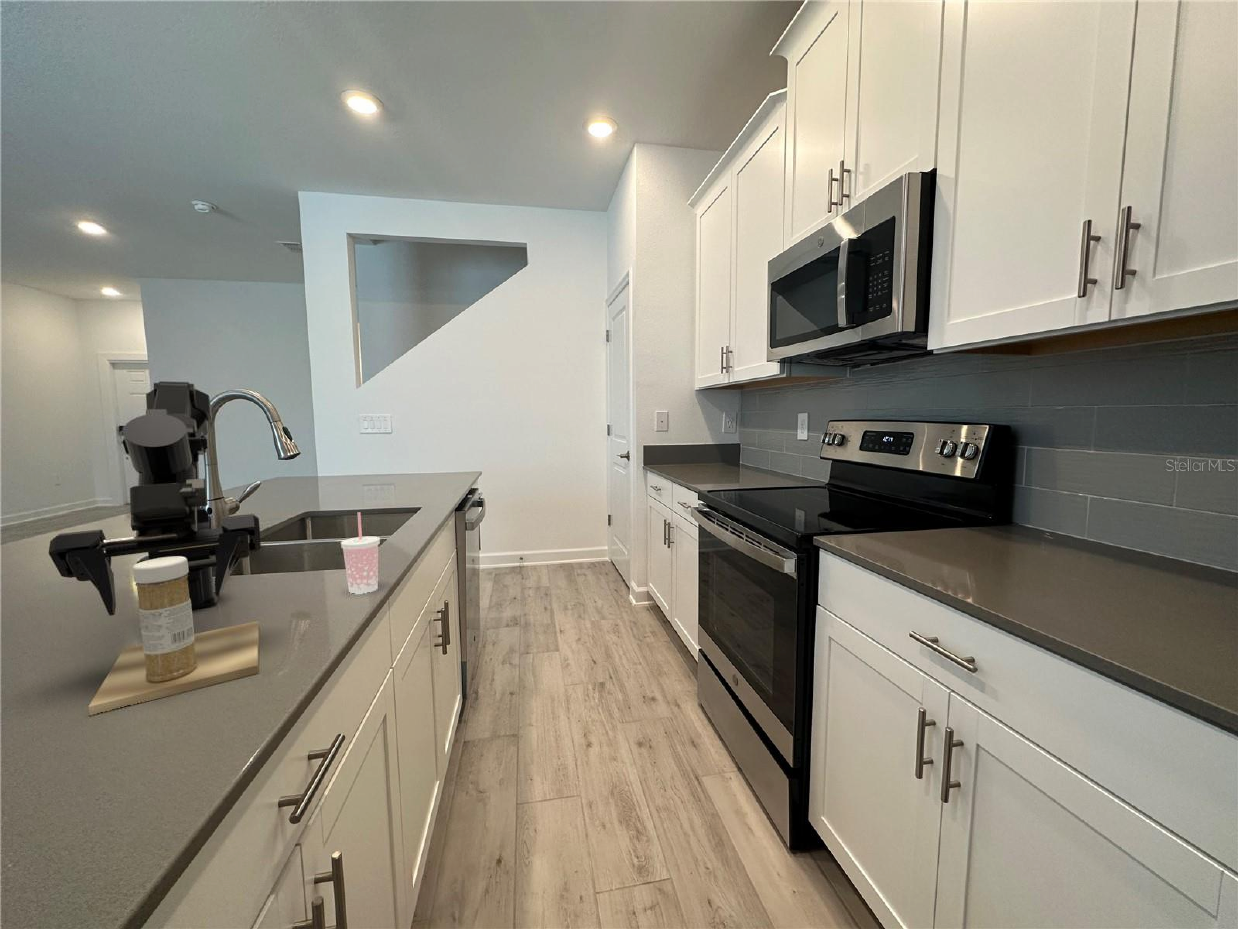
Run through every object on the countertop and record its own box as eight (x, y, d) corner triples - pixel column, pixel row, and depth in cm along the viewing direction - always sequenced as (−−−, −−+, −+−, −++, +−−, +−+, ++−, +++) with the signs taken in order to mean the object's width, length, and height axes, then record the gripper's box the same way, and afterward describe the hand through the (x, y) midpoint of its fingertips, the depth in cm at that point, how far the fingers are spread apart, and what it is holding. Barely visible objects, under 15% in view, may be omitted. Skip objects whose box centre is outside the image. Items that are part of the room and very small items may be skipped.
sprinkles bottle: (186, 660, 60) (175, 553, 58) (206, 668, 58) (195, 557, 56) (136, 678, 56) (124, 563, 54) (156, 687, 54) (143, 568, 52)
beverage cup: (386, 590, 86) (381, 512, 85) (346, 598, 83) (341, 517, 81) (378, 581, 91) (374, 507, 90) (341, 588, 88) (336, 511, 86)
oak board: (125, 655, 63) (124, 648, 63) (258, 627, 71) (258, 621, 71) (89, 715, 50) (88, 706, 50) (257, 673, 58) (257, 665, 58)
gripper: (42, 463, 54) (21, 588, 46) (253, 454, 65) (263, 553, 58) (70, 521, 61) (55, 637, 53) (256, 503, 72) (265, 597, 65)
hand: (166, 603), depth 57 cm, fingers open, 9 cm apart
